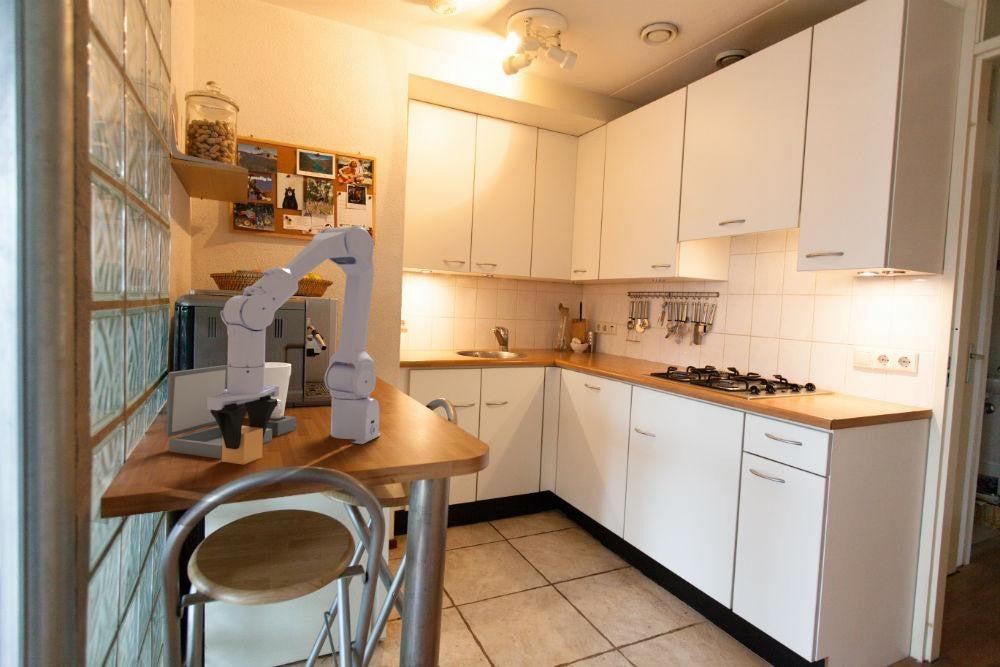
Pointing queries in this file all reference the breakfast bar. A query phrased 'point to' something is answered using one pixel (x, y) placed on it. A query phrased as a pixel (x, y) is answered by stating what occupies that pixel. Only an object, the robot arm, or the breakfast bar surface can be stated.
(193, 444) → the grey shallow rectangular tray
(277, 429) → the grey square socket
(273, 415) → the white upright cylinder
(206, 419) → the lid
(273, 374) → the foam cup
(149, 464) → the breakfast bar surface
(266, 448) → the breakfast bar surface
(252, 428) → the block
